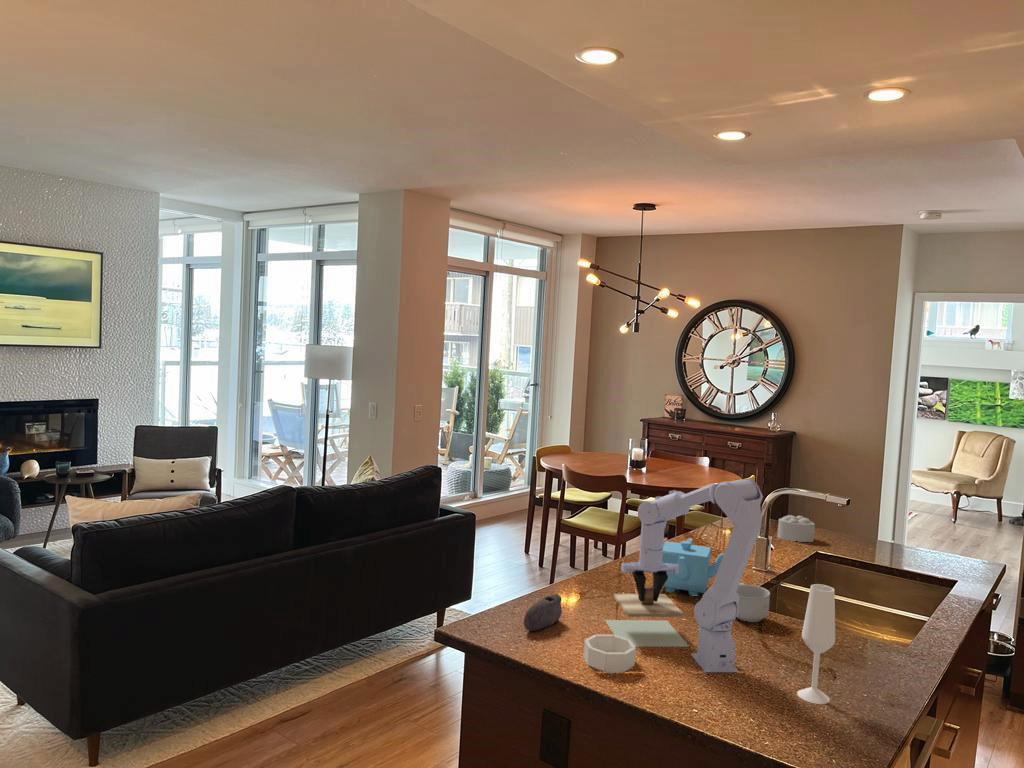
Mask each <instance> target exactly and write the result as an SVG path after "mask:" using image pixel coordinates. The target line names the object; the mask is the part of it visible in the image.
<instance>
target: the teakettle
mask: <svg viewBox="0 0 1024 768" xmlns="http://www.w3.org/2000/svg"><path fill="white" fill-rule="evenodd" d="M724 553H725V552H721V553H720V554H719V555H717V557H716V559H715V560H714V561H715V562H714V563H713V564H711V556H712V547H711V546H705V545H696V544H693V538H691V537H688V538H687V539H686V540H682V541H680V542H676V541H675V542H673V541H667V540H666V541H665V542H663V556H662V563H670V564H677V565H678V566H679V573H678V574H676V573H667V575H668V579H667V581H666V582H665V584H664V585H663V587H662V588H665V589H664V592H665V591H666V592H665V593H667V592H674V591H675V592H676V590H681V591H688V595H689V594H690V595H699V593H702V594H704V593H705V592H706V591H707V590H708V585H709V582H710V579H712V578H713V577H716V574H717V571H718V569H719V566H720V563H721V561H722V558H723V555H724ZM675 592H674V593H675ZM690 595H689V596H690Z"/></svg>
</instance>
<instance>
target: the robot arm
mask: <svg viewBox="0 0 1024 768" xmlns="http://www.w3.org/2000/svg"><path fill="white" fill-rule="evenodd" d="M763 498H764V496H763V493H762V491H761V489H760V487H759V485H758V483H757V482H756V481H754V480H753V479H751V478H743V479H738V480H731V481H721V482H717V483H711V484H707V485H705V486H703V487H700V488H698V489H697V488H696V489H695V490H692V491H690V492H687V493H685V492H683V491H679V490H676V489H675V490H670V491H668V494H666V495H664V496H661V495H658V496H655V498H654V500H644V501H643V502H641V503H640V504H639V505H638V508H637V517H638V519H639V521H640V522H641V529H640V530H641V531H640V543H639V544H640V545H639V558H638V559H639V560H638V561H633V562H632V561H631V562H622V563H620V564H621V565H620V566H621V567H620V571H621V572H622V573H623V574H627V573H632V574H631V575H632V576H633V579H634V581H635V586H636V590H637V594H638V598H639V600H640V601H644V588H645V586H646V581H647V577H646V575H645V573H652V583H653V584H652V587H654V588H655V591H654V601H655V602H657V600H658V597H659V594H661V590H662V589H663V588H664V587H663V585H664V584H665V582H666V581H667V579H668V575H667V573H676V574H678V573H679V566H678V565H677V564H670V563H662V556H663V545H664V539H665V529H666V528H667V522H668V521H669V520H672V519H675V518H677V517H680V516H684V515H687V514H688V513H689V512H690V509H691V507H694V506H697V505H701V504H703V503H707V502H711V503H712V504H717V506H718V507H719V508H720V509H721V511H722V512H723V513H724V514H725V515H726V517H727V518H728V519H729V520H730V521H731V522H732V525H733V528H732V532H731V534H730V538H729V540H728V542H727V545H726V547H725V550H724V552H723V553H724V555H723V558H722V561H721V563H720V566H719V569H718V571H717V574H716V575H715V576H714V577H715V578H714V580H713V582H712V585H711V586H710V587H709V588H707V589H706V592H705V593H702V597H701V599H700V600H699V601H697V602H696V604H695V605H694V609H693V616H694V618H695V620H696V622H697V626H699V627H698V640H697V652H695V653H690V656H691V657H692V658H693V659H694V661H695V662H696V664H698V666H699V667H700V668H701V669H702V670H703V672H705V673H738V672H739V671H738V670H739V669H737V667H736V666H735V661H736V651H737V647H736V643H735V640H734V639H733V636H732V626H733V621H734V620H736V619H737V618H736V617H737V616H738V611H739V609H738V603H739V599H740V596H739V595H738V594H737V592H736V591H737V588H738V586H739V583H741V580H742V579H743V578H742V577H743V576H744V573H745V570H746V568H747V564H748V563H749V559H750V556H751V554H752V552H753V550H754V546H755V544H756V542H757V539H758V537H759V534H760V532H761V528H762V512H761V502H762V500H763Z"/></svg>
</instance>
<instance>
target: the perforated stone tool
mask: <svg viewBox="0 0 1024 768" xmlns="http://www.w3.org/2000/svg"><path fill="white" fill-rule="evenodd" d="M562 609H563V608H562V596H560V595H559V594H557V593H554V594H551V595H548V596H544V597H543V598H541V599H539V600H538V601H537V602H535V603H533V604H532V605H531V606H530V607H529V608H528V610H526V613H525V614H524V619H523V625H524V628H525V629H526V630H527V631H529V632H535V631H539V630H542V629H545V628H547V627H550V626H552V625H553V624H555V623H556V622H558V621H559V620H560V618H561V615H562V612H563V610H562Z"/></svg>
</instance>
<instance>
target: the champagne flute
mask: <svg viewBox="0 0 1024 768" xmlns="http://www.w3.org/2000/svg"><path fill="white" fill-rule="evenodd" d="M808 594H809V595H808V600H807V605H806V609H805V610H806V612H805V615H804V620H803V626H802V632H801V637H802V640H803V642H804V643H805V645H806V646H807V647H808V649H809V650H810V651H812V652H813V665H812V673H811V675H812V676H811V686H810V687H807V688H803V689H800V690H798V691H797V692H796V695H797V696H798V697H799V698H800V699H802V700H803V701H805V702H808V703H812V704H817V705H824V704H828V703H829V702H830V701H831V699H830V697H829V695H827V694H825V693H824V692H823V691H822V690H820V689H819V688H818V680H819V672H820V671H819V668H820V659H821V658H820V657H821V654H824V653H826V652H827V651H829V650H830V649H831V648H832V647H833V646H834V645H835V643H836V604H835V603H836V602H835V599H836V598H835V597H836V596H835V595H836V594H835V588H834V587H831V586H829V585H825V584H822V583H821V584H820V583H816V584H811V585H810V588H809V593H808Z"/></svg>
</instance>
